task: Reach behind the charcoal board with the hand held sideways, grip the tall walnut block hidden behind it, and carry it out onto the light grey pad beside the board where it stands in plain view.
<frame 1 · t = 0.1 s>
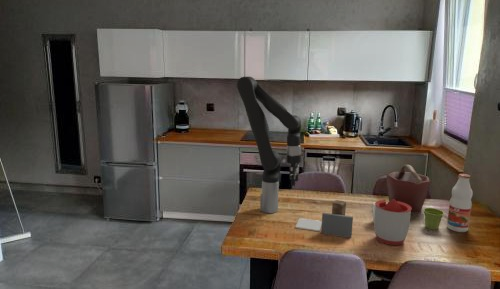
hand: (294, 183, 197), 17 cm above the table, tool pointing down, fingers open, 8 cm apart
bucket: (404, 208, 212), on the table
walnut block: (337, 229, 182), on the table
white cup: (379, 223, 191), on the table
plant pot: (431, 227, 186), on the table
fruit juice: (457, 228, 185), on the table
charcoal board: (336, 234, 175), on the table
grey pad: (309, 224, 186), on the table
citrus juicer: (389, 239, 172), on the table
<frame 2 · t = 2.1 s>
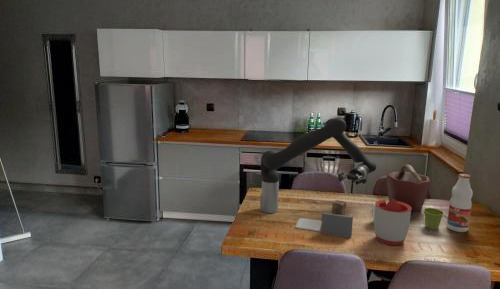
hand: (348, 181, 187), 22 cm above the table, tool horizontal, fingers open, 8 cm apart
nothing on the table moved.
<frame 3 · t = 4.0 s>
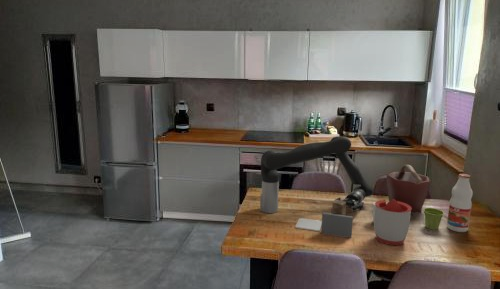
hand: (344, 207, 187), 8 cm above the table, tool horizontal, fingers open, 8 cm apart
nothing on the table moved.
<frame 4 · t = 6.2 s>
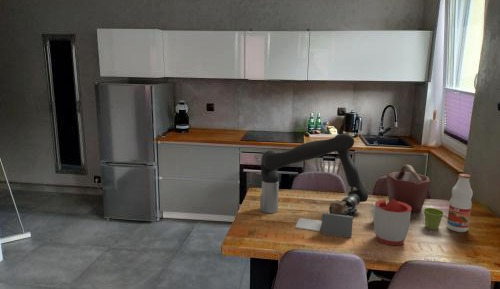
hand: (336, 214, 178), 8 cm above the table, tool horizontal, fingers closed on walnut block, 5 cm apart
walnut block: (337, 229, 182), on the table, touching gripper
everything else where it was.
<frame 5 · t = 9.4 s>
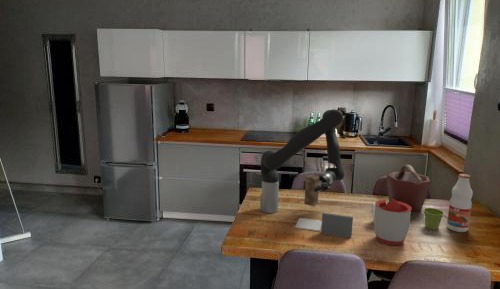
hand: (309, 188, 180), 20 cm above the table, tool horizontal, fingers closed on walnut block, 5 cm apart
walnut block: (311, 203, 183), point 11 cm above the table, touching gripper
everything else where it was.
when the fingers open (10 cm above the table, at t = 12.3 s): walnut block drops 1 cm, resting on grey pad.
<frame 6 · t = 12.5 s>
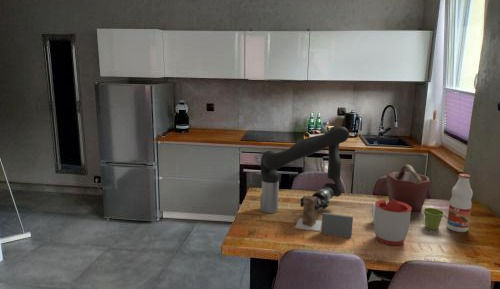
hand: (308, 206, 182), 11 cm above the table, tool horizontal, fingers open, 7 cm apart
walnut block: (309, 223, 186), point 1 cm above the table, touching grey pad
everything else where it was.
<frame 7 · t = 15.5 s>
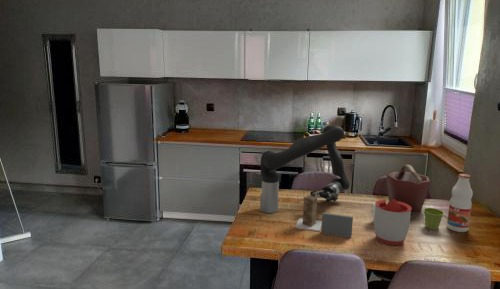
hand: (319, 199, 193), 11 cm above the table, tool horizontal, fingers open, 8 cm apart
nothing on the table moved.
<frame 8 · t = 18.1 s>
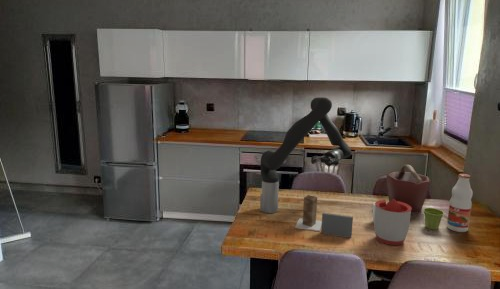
hand: (320, 163, 189), 30 cm above the table, tool horizontal, fingers open, 8 cm apart
nothing on the table moved.
at the end: walnut block inside the target area on the grey pad (0.1 cm from its centre), point 0.6 cm above the grey pad's base; walnut block tilted 0°; the gripper is holding nothing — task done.
